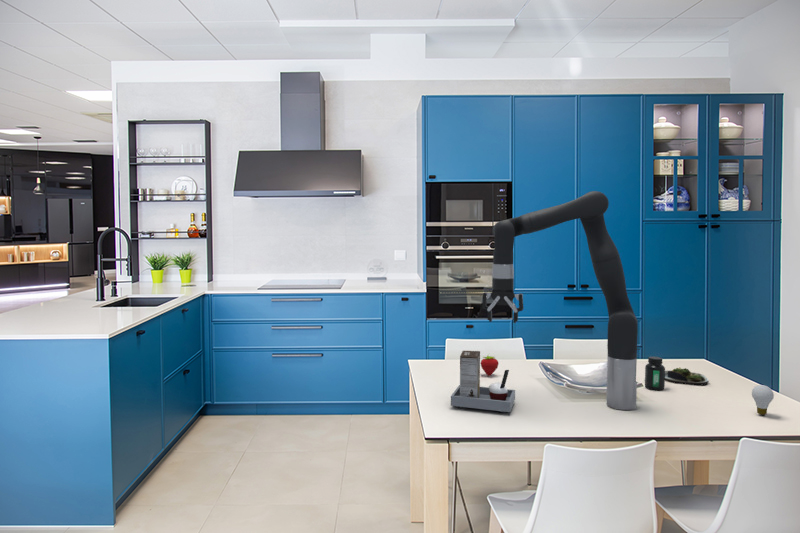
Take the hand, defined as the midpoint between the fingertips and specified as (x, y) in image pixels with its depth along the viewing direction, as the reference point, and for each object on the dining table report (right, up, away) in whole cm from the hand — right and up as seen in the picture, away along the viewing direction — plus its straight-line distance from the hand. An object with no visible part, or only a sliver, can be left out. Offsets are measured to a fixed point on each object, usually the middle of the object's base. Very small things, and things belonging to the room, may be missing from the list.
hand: (502, 322), depth 182 cm
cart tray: (-8, -29, -5) cm, 30 cm away
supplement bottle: (+61, -27, +14) cm, 69 cm away
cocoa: (-3, -27, -7) cm, 28 cm away
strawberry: (+1, -26, +32) cm, 42 cm away
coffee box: (-12, -27, -4) cm, 29 cm away
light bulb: (+82, -29, -15) cm, 88 cm away
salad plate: (+79, -27, +27) cm, 88 cm away
